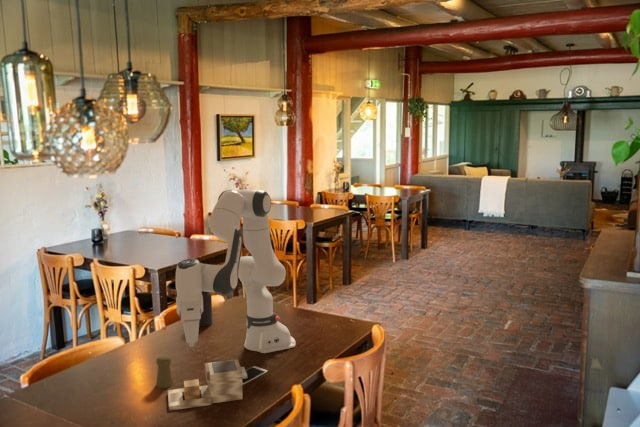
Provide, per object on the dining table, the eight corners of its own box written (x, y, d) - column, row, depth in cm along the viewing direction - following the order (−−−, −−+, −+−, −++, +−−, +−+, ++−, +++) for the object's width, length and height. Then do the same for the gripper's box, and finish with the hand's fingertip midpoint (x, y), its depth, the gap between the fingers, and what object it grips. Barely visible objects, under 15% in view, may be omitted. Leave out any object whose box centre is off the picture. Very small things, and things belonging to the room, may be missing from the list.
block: (198, 394, 196) (198, 379, 195) (199, 401, 191) (199, 385, 190) (184, 396, 195) (183, 380, 194) (185, 403, 190) (184, 387, 189)
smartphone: (268, 370, 215) (241, 384, 203) (268, 372, 216) (241, 386, 203) (254, 365, 220) (227, 379, 208) (254, 367, 220) (227, 380, 208)
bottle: (200, 321, 270) (199, 282, 267) (214, 322, 269) (213, 282, 266) (195, 326, 263) (194, 285, 260) (209, 327, 262) (208, 286, 259)
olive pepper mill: (174, 380, 207) (173, 353, 205) (171, 388, 201) (169, 359, 199) (158, 380, 207) (157, 353, 205) (154, 388, 201) (153, 360, 199)
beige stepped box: (237, 385, 204) (237, 357, 202) (243, 400, 192) (242, 371, 190) (168, 394, 196) (166, 365, 195) (169, 410, 185) (167, 380, 183)
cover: (244, 369, 201) (243, 358, 200) (247, 378, 194) (247, 367, 193) (205, 373, 197) (204, 363, 196) (207, 383, 190) (206, 372, 189)
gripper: (180, 298, 197) (181, 335, 199) (180, 317, 177) (182, 358, 179) (198, 296, 198) (199, 333, 201) (200, 316, 179) (202, 356, 181)
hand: (191, 345), depth 190 cm, fingers closed
